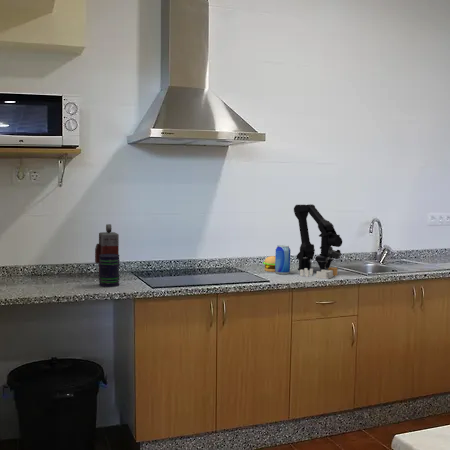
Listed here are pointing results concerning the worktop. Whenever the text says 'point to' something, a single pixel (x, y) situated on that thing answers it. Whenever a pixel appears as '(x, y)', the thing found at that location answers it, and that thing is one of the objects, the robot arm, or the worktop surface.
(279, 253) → the beer can
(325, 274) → the cream arch-shaped block
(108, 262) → the storage jar
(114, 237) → the thermos flask
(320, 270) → the stamp-like rod
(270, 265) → the hamburger
